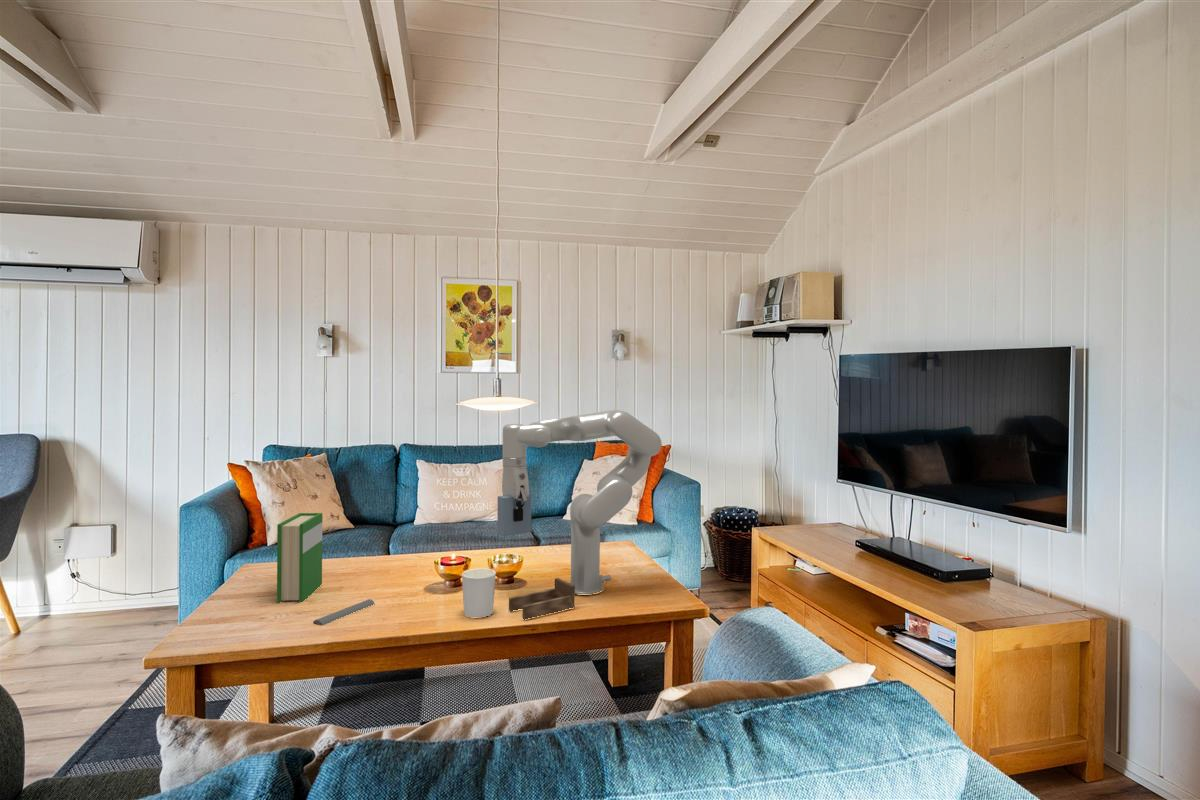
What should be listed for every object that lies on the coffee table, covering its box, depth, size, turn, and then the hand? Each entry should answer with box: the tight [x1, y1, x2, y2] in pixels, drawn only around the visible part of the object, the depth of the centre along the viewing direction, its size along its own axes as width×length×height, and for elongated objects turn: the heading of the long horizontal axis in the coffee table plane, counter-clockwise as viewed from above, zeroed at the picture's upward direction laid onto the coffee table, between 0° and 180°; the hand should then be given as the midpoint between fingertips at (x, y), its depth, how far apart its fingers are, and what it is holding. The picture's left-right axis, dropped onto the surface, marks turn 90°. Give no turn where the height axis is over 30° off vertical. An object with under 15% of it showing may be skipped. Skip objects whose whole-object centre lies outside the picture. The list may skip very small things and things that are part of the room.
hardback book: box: [276, 512, 323, 604], centre depth 198 cm, size 18×7×24 cm, turn 6°
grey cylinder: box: [461, 567, 497, 618], centre depth 183 cm, size 10×10×12 cm
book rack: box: [508, 577, 576, 621], centre depth 186 cm, size 17×9×7 cm, turn 127°
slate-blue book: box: [497, 493, 532, 537], centre depth 199 cm, size 10×4×12 cm, turn 127°
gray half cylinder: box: [312, 598, 375, 626], centre depth 181 cm, size 4×20×2 cm, turn 155°
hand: (514, 519), depth 199 cm, fingers closed on slate-blue book, 4 cm apart
